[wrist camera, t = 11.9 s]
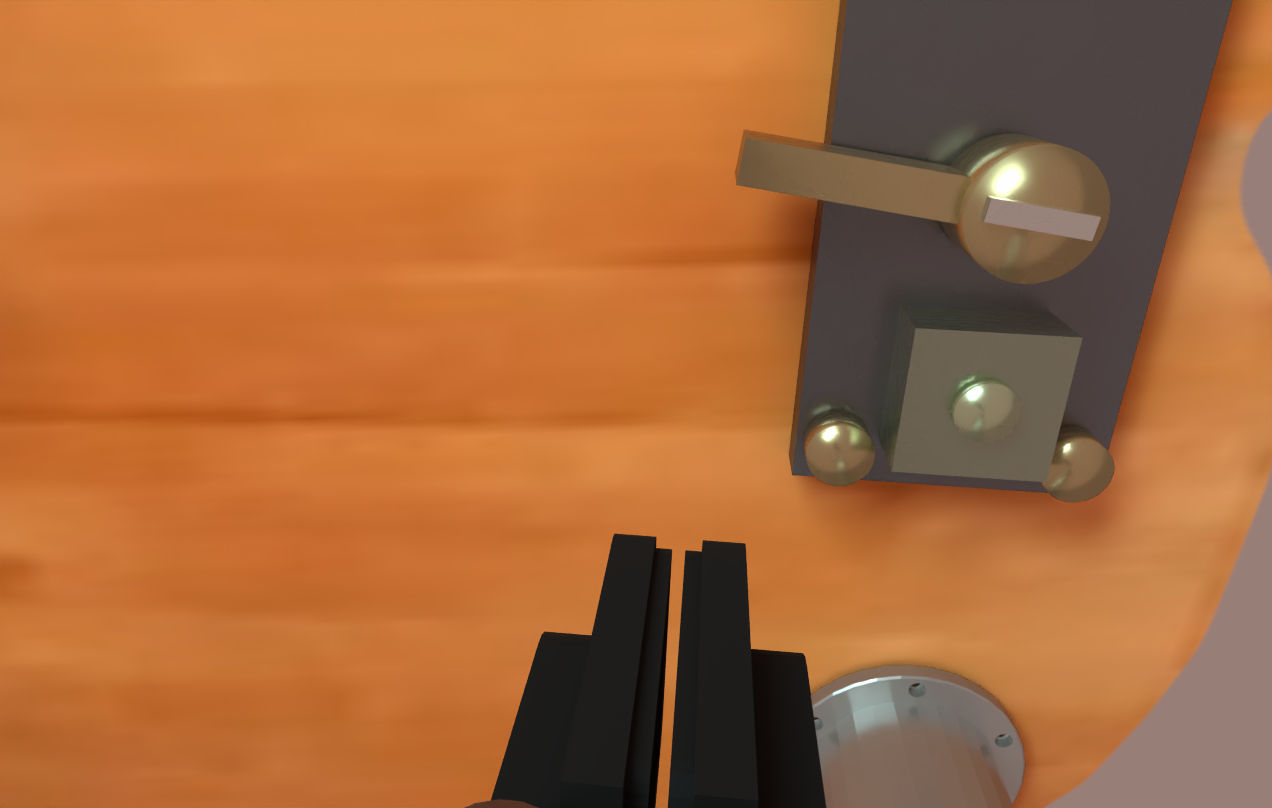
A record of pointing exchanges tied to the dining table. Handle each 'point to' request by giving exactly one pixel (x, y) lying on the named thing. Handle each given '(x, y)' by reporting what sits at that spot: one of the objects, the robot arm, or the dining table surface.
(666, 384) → the dining table surface
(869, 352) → the plate
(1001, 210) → the lever handle
